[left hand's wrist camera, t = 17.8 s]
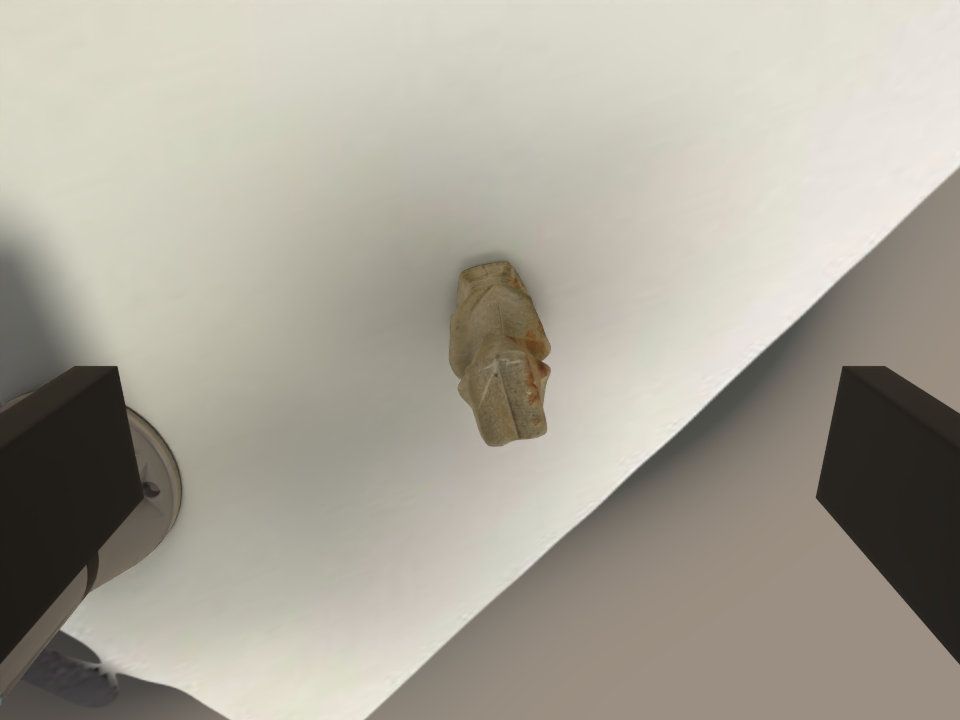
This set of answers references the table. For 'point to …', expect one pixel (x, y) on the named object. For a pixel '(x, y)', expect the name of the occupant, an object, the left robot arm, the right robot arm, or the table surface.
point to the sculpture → (499, 354)
